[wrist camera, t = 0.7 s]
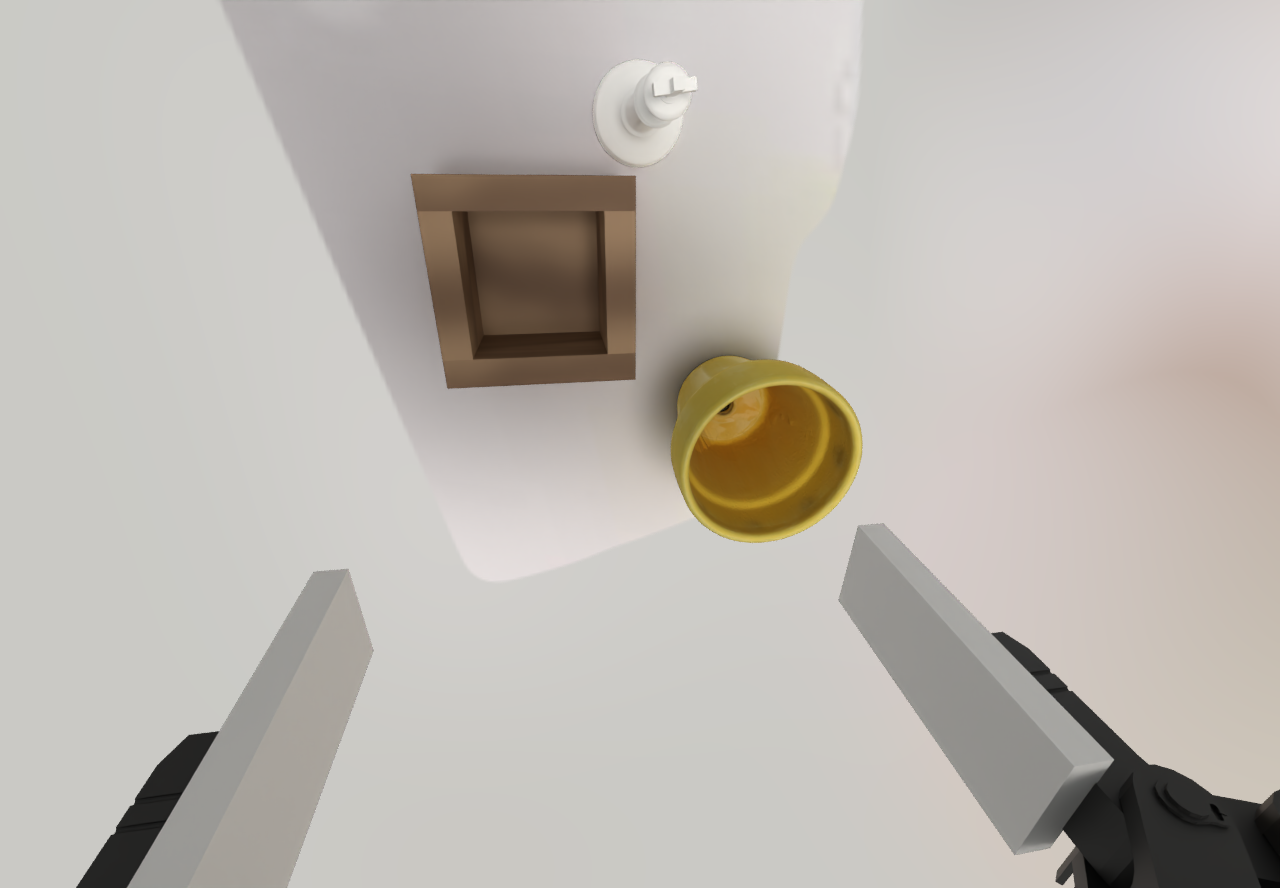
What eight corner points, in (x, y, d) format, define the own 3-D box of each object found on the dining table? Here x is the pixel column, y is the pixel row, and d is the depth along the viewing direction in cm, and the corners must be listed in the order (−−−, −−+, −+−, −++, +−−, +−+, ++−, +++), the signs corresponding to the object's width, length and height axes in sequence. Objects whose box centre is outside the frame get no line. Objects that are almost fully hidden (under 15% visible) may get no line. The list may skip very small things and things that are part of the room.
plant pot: (646, 468, 38) (675, 552, 29) (652, 329, 33) (688, 378, 25) (778, 462, 40) (843, 539, 31) (802, 327, 35) (885, 374, 26)
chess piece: (584, 66, 27) (602, 7, 18) (677, 54, 27) (740, -11, 18) (600, 173, 29) (624, 167, 20) (686, 160, 29) (745, 149, 20)
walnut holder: (436, 176, 28) (410, 173, 23) (619, 178, 29) (635, 175, 24) (463, 355, 32) (447, 388, 27) (621, 349, 34) (635, 379, 28)
